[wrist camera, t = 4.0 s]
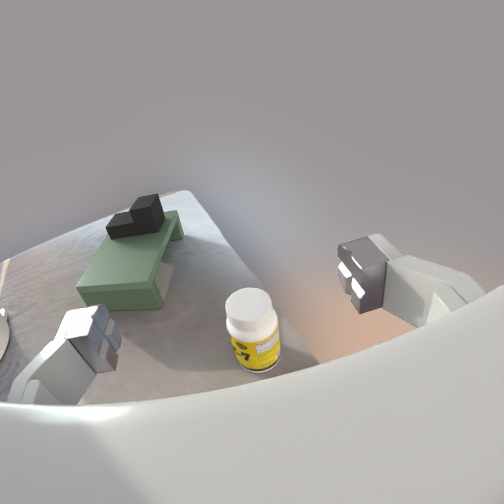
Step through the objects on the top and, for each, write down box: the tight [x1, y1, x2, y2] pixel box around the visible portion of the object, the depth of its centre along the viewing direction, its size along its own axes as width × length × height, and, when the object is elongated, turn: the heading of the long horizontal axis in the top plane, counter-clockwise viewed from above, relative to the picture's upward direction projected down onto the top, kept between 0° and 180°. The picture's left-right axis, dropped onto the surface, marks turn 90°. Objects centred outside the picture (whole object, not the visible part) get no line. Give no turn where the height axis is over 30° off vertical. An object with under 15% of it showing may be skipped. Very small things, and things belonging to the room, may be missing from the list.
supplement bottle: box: [225, 288, 281, 373], centre depth 27 cm, size 5×5×8 cm
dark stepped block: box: [106, 194, 165, 239], centre depth 44 cm, size 9×4×5 cm, turn 90°
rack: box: [76, 210, 184, 311], centre depth 44 cm, size 12×18×5 cm, turn 0°
